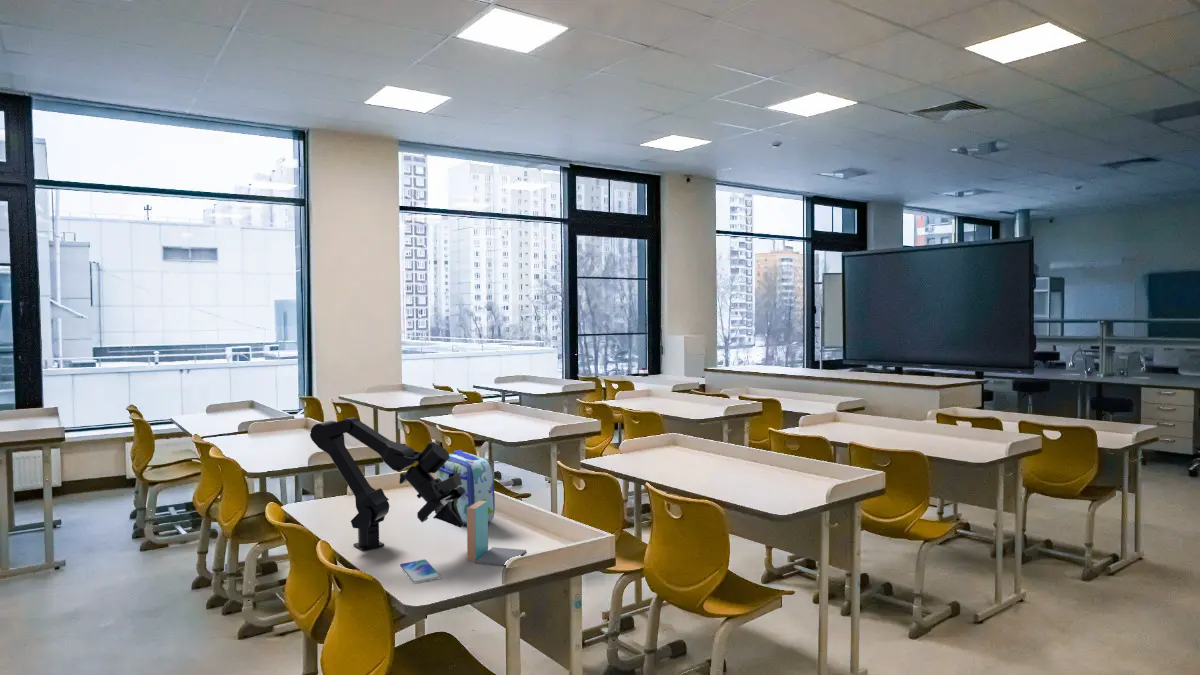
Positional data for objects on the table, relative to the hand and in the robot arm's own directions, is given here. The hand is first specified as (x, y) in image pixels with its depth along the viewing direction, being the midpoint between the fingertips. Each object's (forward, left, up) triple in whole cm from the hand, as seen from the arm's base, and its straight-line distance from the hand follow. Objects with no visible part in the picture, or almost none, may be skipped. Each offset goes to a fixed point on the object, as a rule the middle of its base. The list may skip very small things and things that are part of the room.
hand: (462, 526), depth 202 cm
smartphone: (+4, -15, -8) cm, 18 cm away
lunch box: (-30, +20, -8) cm, 36 cm away
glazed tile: (+4, +2, -8) cm, 9 cm away
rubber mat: (+9, +6, -8) cm, 14 cm away
